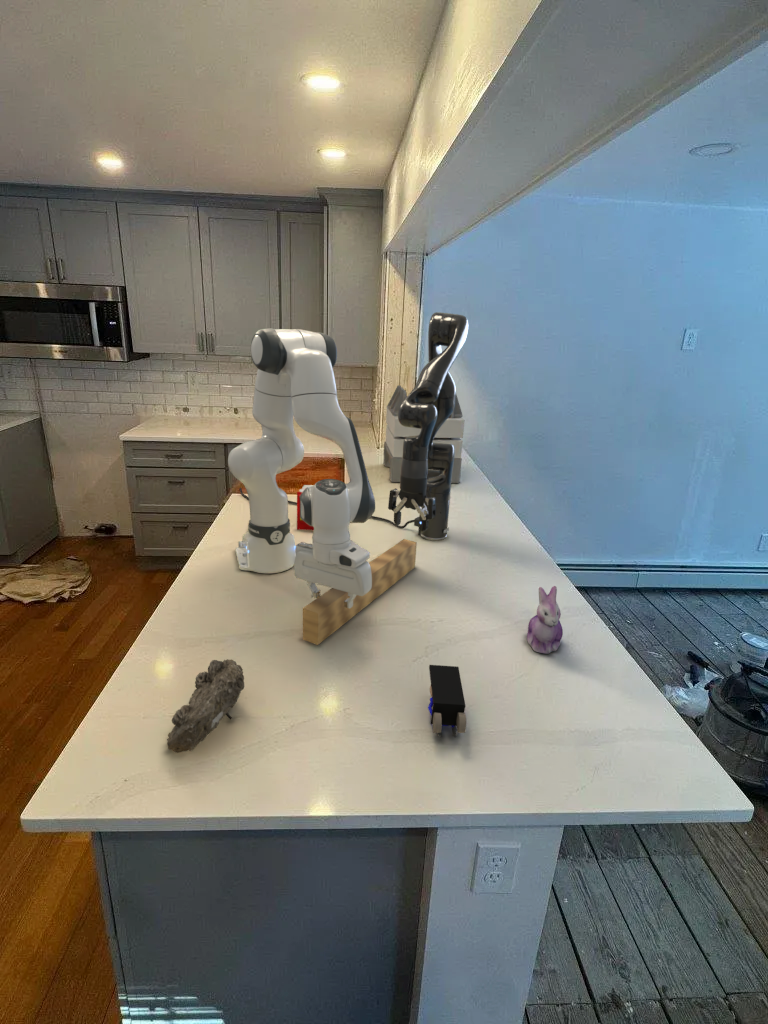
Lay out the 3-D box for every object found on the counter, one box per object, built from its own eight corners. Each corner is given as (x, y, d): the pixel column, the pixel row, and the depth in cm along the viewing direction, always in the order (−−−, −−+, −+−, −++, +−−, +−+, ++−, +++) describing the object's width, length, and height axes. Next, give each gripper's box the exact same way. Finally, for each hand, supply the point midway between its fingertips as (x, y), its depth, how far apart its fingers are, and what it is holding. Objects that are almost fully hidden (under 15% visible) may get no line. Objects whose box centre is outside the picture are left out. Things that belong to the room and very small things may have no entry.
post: (402, 563, 177) (403, 538, 174) (415, 567, 175) (416, 542, 172) (302, 639, 134) (302, 608, 132) (317, 645, 132) (317, 613, 130)
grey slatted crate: (382, 463, 289) (386, 382, 275) (445, 464, 293) (451, 384, 279) (390, 482, 257) (394, 392, 243) (460, 483, 261) (468, 394, 247)
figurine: (544, 659, 130) (553, 602, 125) (515, 637, 139) (522, 582, 134) (574, 650, 135) (584, 594, 130) (544, 629, 143) (552, 575, 138)
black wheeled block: (466, 750, 104) (456, 690, 118) (471, 720, 101) (459, 662, 115) (430, 749, 104) (423, 690, 118) (433, 719, 101) (426, 661, 114)
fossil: (192, 660, 117) (244, 628, 112) (224, 691, 120) (276, 661, 115) (142, 746, 98) (202, 712, 93) (182, 779, 101) (242, 748, 96)
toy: (332, 480, 224) (326, 494, 194) (331, 513, 226) (326, 531, 197) (301, 479, 223) (291, 493, 194) (301, 513, 226) (291, 531, 197)
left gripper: (287, 544, 134) (289, 596, 139) (361, 563, 125) (361, 618, 130) (303, 536, 140) (304, 586, 144) (375, 553, 131) (374, 607, 135)
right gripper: (385, 472, 159) (382, 526, 165) (430, 481, 152) (426, 537, 158) (398, 466, 165) (395, 519, 171) (442, 475, 159) (438, 529, 164)
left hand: (332, 602), depth 137 cm, fingers open, 8 cm apart
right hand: (410, 527), depth 164 cm, fingers open, 8 cm apart
